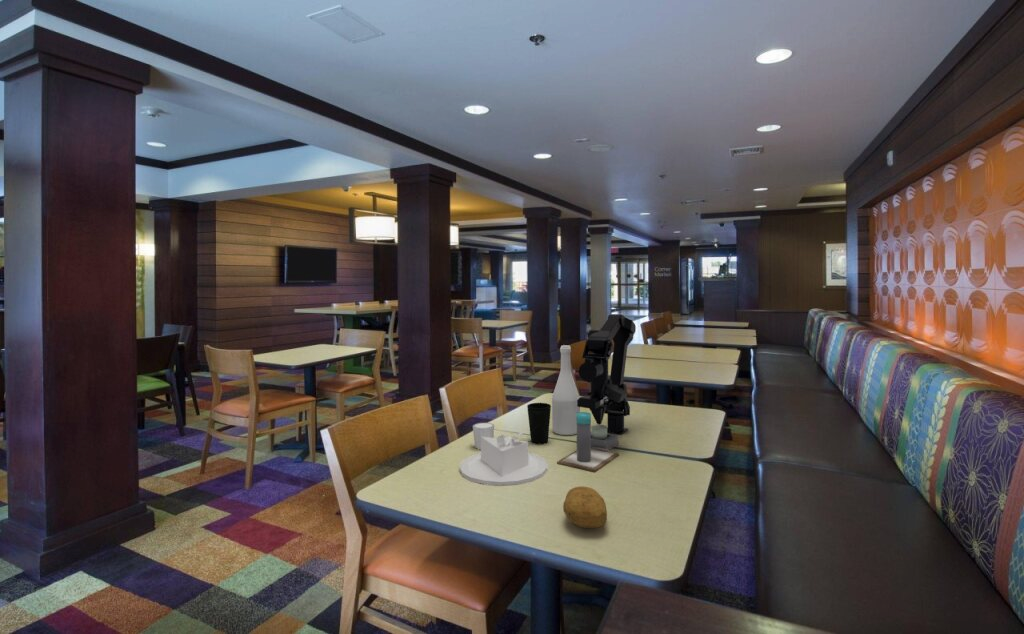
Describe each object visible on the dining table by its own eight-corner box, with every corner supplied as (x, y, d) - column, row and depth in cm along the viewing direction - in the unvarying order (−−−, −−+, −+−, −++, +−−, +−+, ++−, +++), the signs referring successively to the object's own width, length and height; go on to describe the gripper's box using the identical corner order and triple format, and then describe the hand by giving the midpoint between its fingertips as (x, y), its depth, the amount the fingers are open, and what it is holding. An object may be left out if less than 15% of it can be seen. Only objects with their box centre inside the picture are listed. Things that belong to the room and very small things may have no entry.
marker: (585, 456, 151) (585, 411, 150) (593, 460, 148) (593, 414, 147) (573, 459, 149) (573, 413, 148) (582, 463, 146) (582, 416, 145)
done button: (595, 434, 167) (595, 423, 166) (609, 437, 164) (609, 426, 163) (588, 438, 163) (588, 427, 162) (602, 441, 160) (602, 430, 159)
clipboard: (583, 448, 161) (583, 444, 161) (619, 455, 154) (619, 451, 154) (557, 463, 148) (557, 459, 148) (594, 472, 141) (594, 467, 141)
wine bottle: (581, 435, 174) (581, 347, 171) (553, 436, 174) (552, 348, 171) (578, 427, 183) (577, 343, 181) (551, 427, 183) (550, 344, 181)
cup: (551, 438, 172) (551, 402, 171) (551, 445, 164) (550, 408, 163) (528, 437, 172) (528, 402, 171) (526, 445, 165) (526, 408, 164)
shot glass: (478, 451, 159) (477, 429, 159) (469, 445, 165) (469, 424, 165) (498, 448, 162) (498, 426, 162) (489, 442, 168) (488, 421, 168)
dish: (565, 467, 147) (565, 428, 146) (505, 495, 128) (504, 450, 127) (502, 448, 163) (502, 413, 162) (441, 470, 145) (440, 431, 144)
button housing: (592, 439, 170) (592, 430, 169) (618, 444, 164) (618, 435, 164) (579, 446, 162) (579, 437, 162) (606, 452, 157) (606, 442, 157)
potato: (563, 536, 107) (563, 504, 106) (563, 508, 120) (562, 479, 119) (608, 537, 106) (608, 505, 106) (603, 509, 119) (603, 480, 118)
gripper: (610, 383, 149) (610, 436, 151) (635, 373, 164) (634, 421, 166) (576, 379, 156) (576, 430, 157) (603, 370, 171) (603, 416, 172)
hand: (599, 424), depth 163 cm, fingers closed
